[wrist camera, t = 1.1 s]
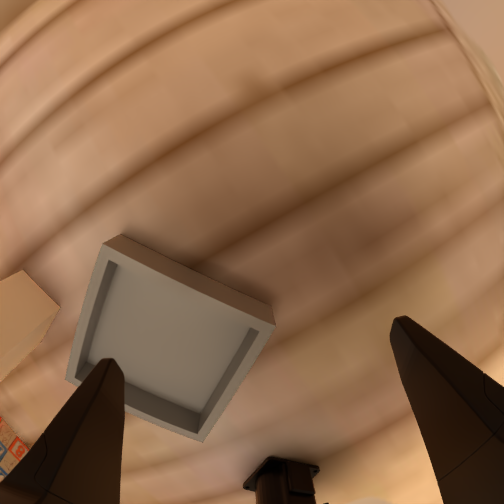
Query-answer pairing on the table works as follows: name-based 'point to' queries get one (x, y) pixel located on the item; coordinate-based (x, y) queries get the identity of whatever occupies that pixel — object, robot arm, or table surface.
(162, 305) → the grey square tray
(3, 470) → the stack of blocks
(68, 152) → the table surface
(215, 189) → the table surface
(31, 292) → the cream block
